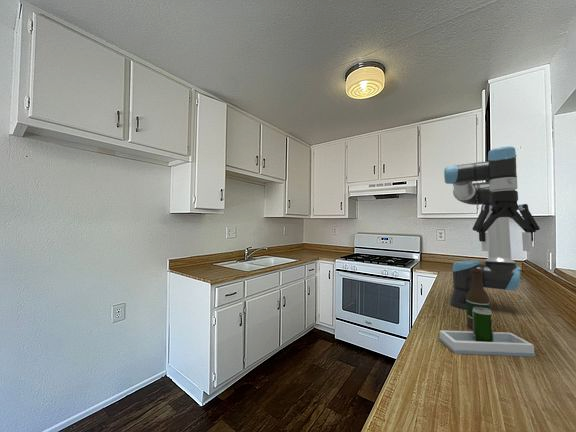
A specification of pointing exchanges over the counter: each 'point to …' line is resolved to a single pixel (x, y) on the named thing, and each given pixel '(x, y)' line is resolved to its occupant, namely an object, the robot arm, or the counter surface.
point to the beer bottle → (476, 296)
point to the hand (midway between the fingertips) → (506, 251)
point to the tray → (487, 344)
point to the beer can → (482, 324)
